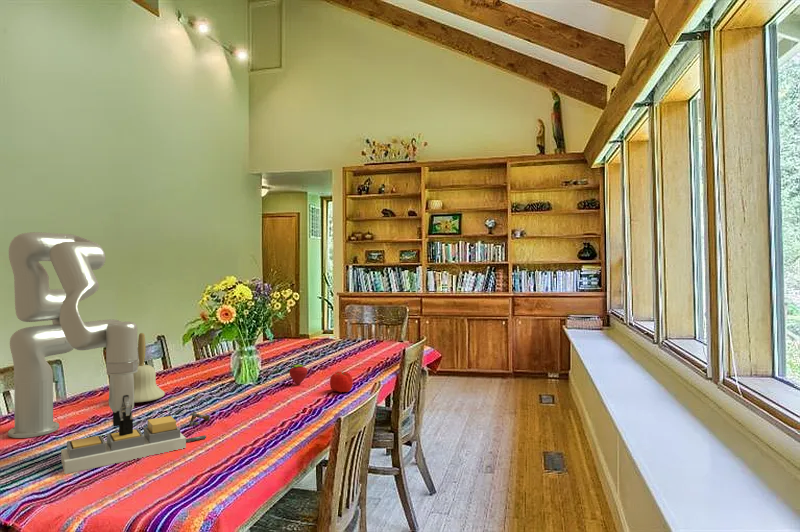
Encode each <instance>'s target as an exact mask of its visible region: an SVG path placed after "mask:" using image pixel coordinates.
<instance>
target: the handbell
mask: <svg viewBox="0 0 800 532" xmlns="http://www.w3.org/2000/svg"><path fill="white" fill-rule="evenodd" d="M137 346H138V362H139V364H138V372H136V373H133V375H134V403H144V402H151V401H155V400H159V399H161V398H162V397H164V396H165V393H166V392H165V391H164V389H161V387H159V386H158V385H157V382H156V376H157V375H156V372H157V371H156V369H155V368H154V367H153V366H151V365H149V364H146V363H145V358H146V351H147V350H146V349H147V348H146V337H145V333H143V332H140V333H139V335H138V338H137Z"/></svg>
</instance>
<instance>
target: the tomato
mask: <svg viewBox="0 0 800 532" xmlns="http://www.w3.org/2000/svg"><path fill="white" fill-rule="evenodd" d="M353 381H354V380H353V376H352V375H351V373H350V372H348V371H344V372H343V371H336V372H335V373H333V374H331V376H330V379H329V387H330V389H331V390H332V391H333V392H335V393H340V394H342V392H343V393H348V392H350V391H351V390H352V389H353V385H354V384H353V383H354V382H353Z"/></svg>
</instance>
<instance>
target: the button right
mask: <svg viewBox="0 0 800 532" xmlns="http://www.w3.org/2000/svg"><path fill="white" fill-rule="evenodd" d="M176 426H177V420H176V419H175V418H173V416H172V415H168V416H162V417H155V418H150V419H147V427H148V429H149V430H150V431H151V432H152V433H158V432H163V431H169V430H174V429H176Z"/></svg>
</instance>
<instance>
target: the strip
mask: <svg viewBox="0 0 800 532" xmlns="http://www.w3.org/2000/svg"><path fill="white" fill-rule="evenodd" d="M136 430H137V432H138V433H139V434H140V437H135V438H130V439H124V440H119V441H114V442H113V440H112V438H111V434H112V433H108V434H106V441H105V440H104V438H103V436H102V435H97V436H98V437H99V439H100V441H101V444H98V445H92V446H87V447H81V448H76V449H72V448H71V440H68V441H67V440H66V448H62V449H61V450H60V451H61V452H60V458H61V460H60V461H61V466H62V468H63V472H64V475H66V474H67V475H68V474H71V473H72V474H73V473H77V472H82V471H86V470H91V469H95V468H101V467H106V466H110V465H115V463H116V464H120V463H125V462H129V460H130V461H134V460H133V459H135V460H138V459H137V458H139V459H143V458H142V457H144V458H147V457H146V456H149V455H154V454H159V455H161V454H160V453H163V454H165V453H164V452H168V453H170V452H169V451H173V450H178V449H182V450H184V449H183V448H186V449H187V443H191V442H190V441H192V442H196V441H195V440H197V441H201V440H200V439H202V440H205V438H206V439H207V435H206V434H205V435H199V436H194V437H189V438H187V437H186V436H185V435H184V434H183V433H181V428H180V427H178V426H177V425H176V429H174V430H169V431H163V432H158V433H152V432H151V431H150V430H149V429H148V426H147V427H143V432H142V431H141V430H140V429H139V428H136ZM186 442H187V443H186ZM178 451H179V450H178ZM173 452H174V451H173ZM154 456H155V455H154ZM149 457H150V456H149Z"/></svg>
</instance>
